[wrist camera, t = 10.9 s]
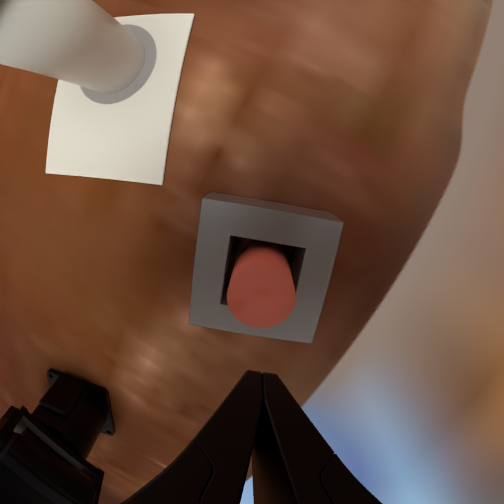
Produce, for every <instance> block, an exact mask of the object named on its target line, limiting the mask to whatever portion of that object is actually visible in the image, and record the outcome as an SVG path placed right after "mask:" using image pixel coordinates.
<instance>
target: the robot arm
mask: <svg viewBox="0 0 504 504" xmlns="http://www.w3.org/2000/svg"><path fill="white" fill-rule="evenodd" d="M47 377H48V381H49V384H50V388H49V390H48V391H47V392H46V393H45V395H44V396H43V397H42V398H41V400H40V401H39V405H38V406H37V407H36V409H35V410H34V411H33V413H32V414H30V413H29V412H28V411H27V409H26V408H25V407H24V406H22V407H21V408H20V410H19V409H18V408H16V407H14V406H11V407H10V408H9V409H8V411H7V412H6V413H5V414H4V415H3V417H2V418H1V419H0V504H98V501H99V496H100V491H101V486H102V481H103V476H104V471H102V470H101V469H98V468H96V467H95V466H93V465H92V464H91V463H89V462H88V461H86V459H87V457H88V455H89V453H90V451H91V449H92V447H93V445H94V443H95V441H96V439H97V437H98V435H99V433H100V432H102V433H105V434H107V435H111V436H113V435H114V433H115V428H114V424H113V419H112V413H111V408H110V402H109V397H108V392H107V391H106V390H105V389H103V388H101V387H98V386H95V385H92V384H89V383H86V382H83V381H81V380H78V379H75V378H72V377H70V376H67V375H64V374H62V373H59V372H57V371H54V370H52V369H49V370H48V371H47ZM13 430H15V431H16V432H17V433H15V432H14V431H13ZM251 454H252V475H253V496H254V504H382V503H381V502H380V501H379V500H378V499H377V498H376V497H375V496H374V495H372V494H371V493H370V492H369V491H368V490H367V489H366V488H365V487H364V486H363V485H362V484H361V483H360V482H359V481H358V480H357V479H356V478H355V477H354V476H353V474H352V473H351V472H350V471H349V470H348V468H347V467H346V466H345V465H344V464H343V462H342V461H341V460H340V459H339V457H338V456H337V455H336V454H334V451H333V450H332V449H331V447H330V446H329V445H328V443H327V442H326V441H325V439H324V438H323V437H322V435H321V434H320V433H319V431H318V430H317V429H316V427H315V426H314V425H313V423H312V422H311V421H310V419H309V418H308V417H307V415H306V414H305V413H304V411H303V410H302V408H301V407H300V406H299V404H298V403H297V402H296V400H295V399H294V398H293V396H292V395H291V393H290V392H289V391H288V389H287V388H286V386H285V385H284V384H283V382H282V381H281V379H280V378H279V377H278V375H277V374H274V373H266V372H263V373H262V374H261V372H259V371H252V370H247V371H246V372H245V373H244V375H243V376H242V377H241V379H240V380H239V381H238V383H237V384H236V385H235V387H234V388H233V389H232V390H231V392H230V393H229V394H228V396H227V397H226V398H225V400H224V401H223V402H222V403H221V405H220V406H219V407H218V409H217V410H216V411H215V412H214V414H213V415H212V416H211V417H210V419H209V420H208V421H207V422H206V424H205V425H204V426H203V427H202V429H201V430H200V431H199V432H198V434H197V435H196V436H195V437H194V439H193V440H192V441H191V442H190V443H189V444H188V445H187V447H186V448H185V449H184V450H183V451H182V452H181V453H180V455H179V456H178V457H177V458H176V459H175V460H174V461H173V462H172V463H171V464H170V465H169V466H168V467H166V468H165V469H164V470H163V471H162V472H161V473H160V474H159V475H157V476H156V477H155V478H154V479H152V480H151V481H150V482H149V483H147V484H146V485H145V486H144V487H142V488H141V489H140V490H138V491H137V492H136V493H135V494H133V495H132V496H131V497H129V498H128V499H127V500H125V501H124V502H122V503H121V504H240V501H241V497H242V492H243V488H244V484H245V480H246V476H247V471H248V467H249V463H250V458H251ZM333 454H334V455H333Z"/></svg>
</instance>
